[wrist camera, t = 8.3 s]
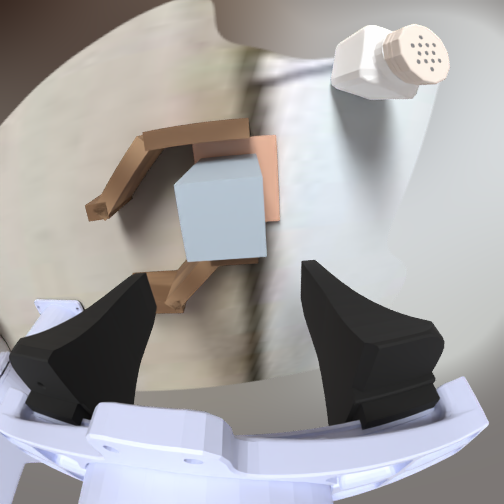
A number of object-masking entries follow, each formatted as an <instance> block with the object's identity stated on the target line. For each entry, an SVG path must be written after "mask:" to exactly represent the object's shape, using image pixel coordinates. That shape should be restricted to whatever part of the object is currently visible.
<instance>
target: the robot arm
mask: <svg viewBox="0 0 504 504" xmlns="http://www.w3.org/2000/svg"><path fill="white" fill-rule="evenodd" d="M301 302H302V307H303V312H304V317H305V320H306V323H307V326H308V329H309V332H310V335H311V338H312V341H313V344H314V347H315V350H316V353H317V357H318V361H319V366H320V371H321V376H322V382H323V388H324V394H325V401H326V407H327V415H328V424H329V426H327V427H321V428H314V429H307V430H300V431H292V432H283V433H271V434H256V435H233V432H232V429H231V427H230V426H229V425H228V424H227V423H226V422H225V421H224V420H223V419H222V418H220V417H218V416H215V415H213V414H210V413H208V412H203V411H197V410H190V409H176V408H161V407H150V406H141V405H134V397H135V390H136V383H137V377H138V372H139V367H140V363H141V360H142V357H143V354H144V351H145V348H146V345H147V342H148V339H149V336H150V334H151V331H152V328H153V325H154V320H155V315H156V310H157V305H156V302H155V299H154V296H153V293H152V290H151V287H150V284H149V280H148V277H147V274H146V273H135V274H133V275H131V276H130V277H128V278H127V279H126V280H124V281H123V282H122V283H120V284H119V285H118V286H117V287H115V288H114V289H113V290H111V291H110V292H109V293H108V294H106V295H105V296H104V297H102V298H101V299H100V300H98V301H97V302H96V303H94V304H93V305H92V306H90V307H89V308H87V309H86V310H83V308H82V306H81V304H80V302H79V301H77V300H43V299H36V300H35V301H34V303H35V305H36V307H37V309H38V311H39V313H40V317H39V318H38V320H37V321H36V322H35V324H34V325H33V326H32V328H31V329H30V331H29V332H28V334H27V335H26V336H25V337H24V338H20V339H19V341H18V342H17V344H16V345H15V347H14V348H13V350H12V351H11V353H10V352H8V351H7V352H1V353H0V504H12V502H13V498H14V495H15V492H16V489H17V486H18V482H19V480H20V477H21V474H22V471H23V468H24V465H25V464H26V463H35V462H36V463H37V462H42V463H44V464H46V465H48V466H50V467H52V468H54V469H56V470H58V471H60V472H63V473H65V474H67V475H69V476H72V477H74V478H76V479H79V480H81V481H83V485H82V490H81V494H80V498H79V503H78V504H333V501H335V500H339V499H343V498H347V497H351V496H354V495H358V494H361V493H364V492H367V491H370V490H373V489H376V488H379V487H382V486H385V485H387V484H390V483H392V482H395V481H398V480H400V479H402V478H405V477H407V476H410V475H412V474H414V473H416V472H419V471H421V470H423V469H425V468H427V467H429V466H431V465H433V464H436V463H438V462H440V461H442V460H444V459H445V458H448V457H450V456H452V455H453V454H455V453H457V452H458V451H459V450H461V449H462V448H463V447H464V446H466V445H467V444H468V443H469V442H470V441H471V440H472V439H474V438H475V437H476V436H477V435H478V434H479V433H480V432H481V431H482V430H483V429H485V428H486V426H488V424H489V422H488V420H487V418H486V416H485V414H484V412H483V410H482V408H481V406H480V404H479V402H478V400H477V399H476V396H475V394H474V393H473V391H472V389H471V387H470V386H469V384H468V382H467V380H466V378H465V377H464V376H462V377H459V378H457V379H455V380H452V381H450V382H447V383H445V384H443V385H441V386H440V387H438V388H437V389H435V387H434V385H433V383H434V382H435V377H434V375H433V373H432V371H433V369H434V367H435V366H436V364H437V362H438V360H439V358H440V356H441V354H442V352H443V349H444V340H443V337H442V336H441V334H440V333H439V331H438V330H437V329H436V327H435V326H434V324H433V323H432V322H431V321H427V320H423V319H419V318H414V317H410V316H407V315H404V314H401V313H398V312H395V311H393V310H390V309H388V308H386V307H383V306H381V305H379V304H377V303H375V302H373V301H371V300H369V299H367V298H365V297H364V296H362V295H360V294H358V293H357V292H355V291H354V290H352V289H351V288H349V287H348V286H347V285H345V284H344V283H342V282H341V281H340V280H338V279H337V278H336V277H335V276H333V275H332V274H331V273H330V272H329V271H327V270H326V269H325V268H324V267H323V266H322V265H320V264H319V263H318V262H317V261H316V260H308V261H302V264H301Z"/></svg>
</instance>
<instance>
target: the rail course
mask: <svg viewBox="0 0 504 504" xmlns="http://www.w3.org/2000/svg"><path fill="white" fill-rule="evenodd" d="M244 138H250V134H249V121H248V118H241V119H229V120H219V121H210V122H202V123H194V124H187V125H180V126H174V127H168V128H163V129H157V130H152V131H147V132H143V135H141V136H137V137H136V138H135V139H134V141H133V143H132V144H131V146H130V147H129V149H128V150H127V152H126V153H125V155H124V156H123V158H122V160H121V161H120V163H119V165H118V166H117V168H116V170H115V171H114V173H113V175H112V176H111V178H110V180H109V182H108V183H107V185H106V187H105V189H104V191H103V192H102V194H101V195H100V196H98V197H97V198H95V199H94V200H92V201H91V202H89V203H88V204H86V205H85V208H86V212H87V216H88V220H89V221H96V220H102V219H104V220H105V221H106V220H107V219H109V218H111V217H112V216H113V215H114V214H115V213H116V212H117V211H119V210H120V209H121V208H122V207H123V206H124V205H126V204H127V203H128V202H129V201H130V200H131V199H133V198H132V195H133V193H134V192H135V190H136V189H137V187H138V186H139V184H140V183H141V181H142V180H143V178H144V177H145V175H146V174H147V172H148V171H149V169H150V168H151V166H152V165H153V163H154V162H155V161H156V159H157V158H158V156H159V155H160V154H161V152H162V151H163V149H164V148H167V147H173V146H180V145H187V144H195V143H203V142H211V141H221V140H231V139H244ZM255 263H258V257H254V258H240V259H225V260H210V261H195V262H187V259H186V261H185V262H184V263H183V264H182V265H181V267H180V268H179V269H178V270H174V271H157V272H138V273H146V274H147V277H148V280H149V284H150V287H151V290H152V293H153V296H154V299H155V302H156V305H157V310H156V313H184V309H185V305H186V301H187V300H188V299H189V298H190V297H191V296H192V295H193V294H194V292H195V291H196V290H197V289H198V288H199V287H200V286H201V285H202V284H203V283H204V282H205V281H206V279H207V278H208V277H209V276H210V275H211V274H212V273H213V272H214V271H215V270H216V269H217V268H218V267H219V266H226V265H241V264H255ZM133 274H135V273H133ZM133 274H132V275H133Z"/></svg>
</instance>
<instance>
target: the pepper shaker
mask: <svg viewBox="0 0 504 504" xmlns="http://www.w3.org/2000/svg"><path fill="white" fill-rule="evenodd" d="M449 68H450V64H449V58H448V52H447V50H446V48H445V47H444V45H443V43H442V41H441V40H440V38H439V37H438V36H436V35H435V34H434V33H433V32H432V31H431V30H429V28H426V27H423V26H420V25H417V24H412V25H409V26H406V27H403V28H401V29H399V30H396V31H390V30H387V29H384V28H381V27H379V26H375V25H373V26H365V27H364V28H362V29H360V30H359V31H357V32H356V33H354V34H353V35H351V36H350V37H348V38H347V39H345V40H344V41H342V42H341V43H339V44H338V46H337V47H336V51H335V57H334V63H333V69H332V75H331V83H332V86H333V87H335V88H336V89H338V90H341V91H345V92H348V93H351V94H354V95H357V96H360V97H363V98H366V99H369V100H384V99H412V98H413V97H414V96H415V95H416V94H417V91H418V87H419V85H427V84H437V83H439V82H441V81H443V80H444V79H446V76H447V74H448V71H449Z"/></svg>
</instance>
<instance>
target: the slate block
mask: <svg viewBox="0 0 504 504" xmlns="http://www.w3.org/2000/svg"><path fill="white" fill-rule="evenodd" d="M174 190H175V196H176V202H177V208H178V214H179V220H180V225H181V231H182V236H183V242H184V247H185V252H186V257H187V262H195V261H210V260H225V259H240V258H254V257H267V250H266V230H265V212H264V194H263V177H262V173H261V169H260V166H259V162H258V159H257V155H256V154H243V155H230V156H220V157H210V158H201V159H200V160H199V161H198V162H197V163H196V164H195V165H193V166H192V167H191V168H190V169H189V170H188V171H187V172H186V173H185V174H184V175H183V176H182V177H181V178H180V179H179V180H178V181H177V182H176V183H175V184H174Z"/></svg>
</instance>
